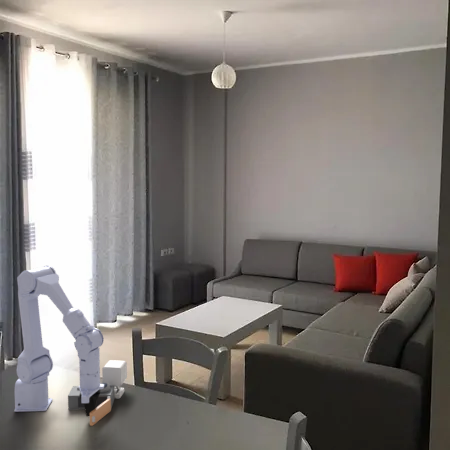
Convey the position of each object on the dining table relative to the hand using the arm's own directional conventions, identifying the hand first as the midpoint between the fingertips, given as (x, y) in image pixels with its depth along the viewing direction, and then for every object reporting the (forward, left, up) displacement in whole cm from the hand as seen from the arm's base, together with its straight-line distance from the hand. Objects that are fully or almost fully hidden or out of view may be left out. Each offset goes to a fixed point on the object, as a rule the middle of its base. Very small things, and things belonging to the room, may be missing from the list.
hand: (90, 415), depth 153 cm
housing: (-2, +11, -2) cm, 11 cm away
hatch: (+3, +2, -1) cm, 4 cm away
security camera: (+4, +18, -2) cm, 19 cm away
